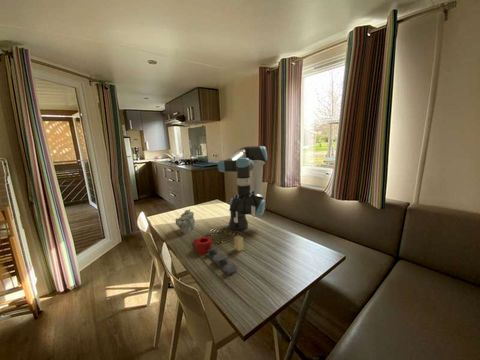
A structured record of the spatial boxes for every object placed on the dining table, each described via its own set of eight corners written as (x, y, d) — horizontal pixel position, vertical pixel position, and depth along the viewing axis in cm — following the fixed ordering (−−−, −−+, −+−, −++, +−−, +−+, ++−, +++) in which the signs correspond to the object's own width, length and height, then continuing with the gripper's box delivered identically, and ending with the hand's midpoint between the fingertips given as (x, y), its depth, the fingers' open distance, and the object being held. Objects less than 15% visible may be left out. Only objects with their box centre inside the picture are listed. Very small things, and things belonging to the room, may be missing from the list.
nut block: (234, 249, 126) (234, 237, 125) (239, 247, 128) (239, 235, 127) (238, 251, 123) (237, 239, 121) (243, 249, 125) (243, 237, 124)
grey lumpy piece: (177, 238, 143) (175, 215, 140) (174, 231, 155) (172, 210, 152) (198, 233, 150) (196, 211, 146) (193, 227, 162) (192, 206, 158)
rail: (206, 254, 121) (206, 249, 120) (214, 252, 124) (214, 246, 123) (228, 275, 101) (227, 268, 101) (236, 271, 104) (236, 265, 104)
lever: (215, 250, 125) (214, 240, 124) (201, 256, 120) (200, 245, 119) (201, 240, 140) (201, 231, 138) (188, 244, 134) (188, 235, 133)
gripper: (229, 189, 108) (231, 226, 112) (263, 182, 123) (264, 215, 126) (222, 187, 114) (224, 222, 118) (255, 180, 128) (256, 212, 132)
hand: (244, 219), depth 122 cm, fingers open, 13 cm apart
